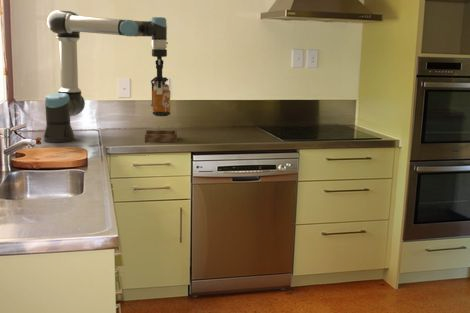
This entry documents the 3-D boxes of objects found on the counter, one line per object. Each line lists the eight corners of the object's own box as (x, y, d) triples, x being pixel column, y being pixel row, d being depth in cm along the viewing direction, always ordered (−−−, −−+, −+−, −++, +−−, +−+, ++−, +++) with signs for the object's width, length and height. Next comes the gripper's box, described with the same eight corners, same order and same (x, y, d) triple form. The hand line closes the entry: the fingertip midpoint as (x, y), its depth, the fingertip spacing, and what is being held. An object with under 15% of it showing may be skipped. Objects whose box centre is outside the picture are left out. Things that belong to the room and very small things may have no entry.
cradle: (145, 142, 277) (145, 134, 276) (146, 137, 291) (146, 130, 290) (176, 142, 279) (176, 134, 278) (176, 137, 293) (176, 130, 292)
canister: (161, 117, 275) (161, 77, 272) (146, 115, 282) (145, 76, 278) (173, 115, 282) (173, 76, 279) (158, 113, 289) (158, 75, 285)
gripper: (166, 49, 265) (167, 95, 269) (167, 48, 286) (167, 91, 291) (150, 49, 264) (151, 95, 269) (152, 48, 285) (153, 91, 290)
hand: (159, 93), depth 280 cm, fingers closed on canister, 9 cm apart
